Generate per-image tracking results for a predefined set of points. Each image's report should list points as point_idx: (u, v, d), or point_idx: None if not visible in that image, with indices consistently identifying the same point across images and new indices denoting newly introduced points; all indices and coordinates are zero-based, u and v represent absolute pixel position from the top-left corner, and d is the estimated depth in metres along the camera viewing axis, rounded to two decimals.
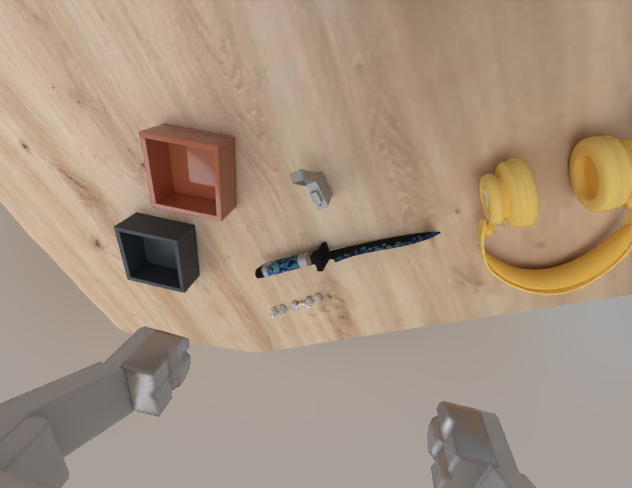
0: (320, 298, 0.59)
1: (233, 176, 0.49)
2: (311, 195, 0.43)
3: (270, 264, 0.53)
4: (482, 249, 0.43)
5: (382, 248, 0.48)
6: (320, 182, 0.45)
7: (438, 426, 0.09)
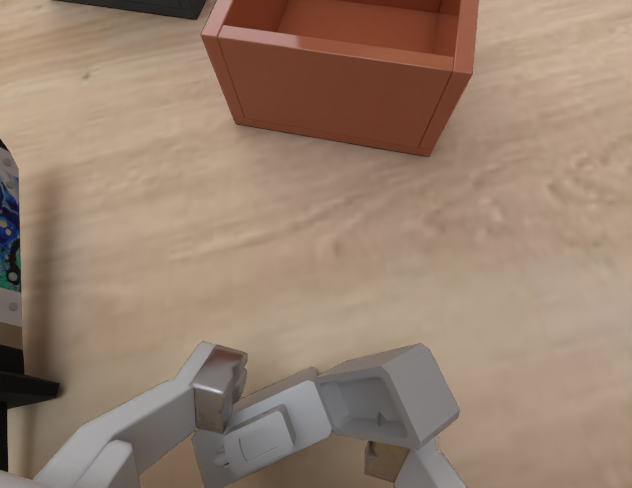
0: None
1: (329, 128, 0.17)
2: (275, 421, 0.09)
3: None
4: None
5: None
6: None
7: None
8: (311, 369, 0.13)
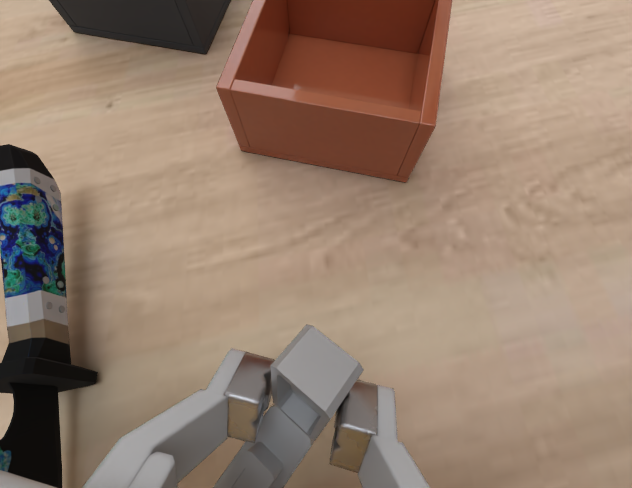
0: None
1: (321, 158, 0.20)
2: (249, 462, 0.09)
3: (45, 201, 0.17)
4: None
5: None
6: None
7: None
8: None
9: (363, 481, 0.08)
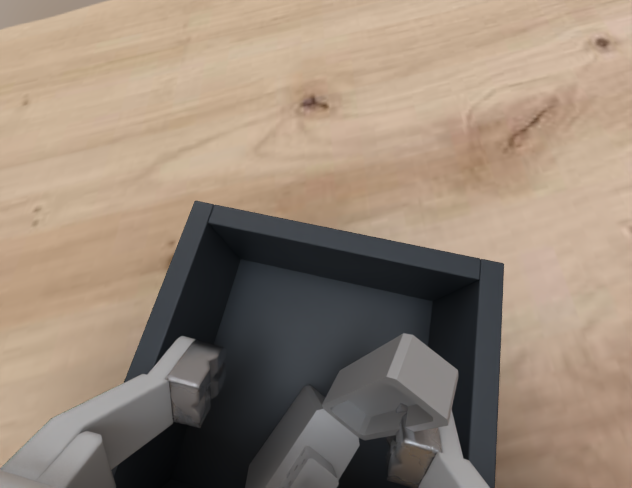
0: None
1: None
2: (311, 469, 0.09)
3: None
4: None
5: None
6: None
7: None
8: (307, 390, 0.13)
9: None
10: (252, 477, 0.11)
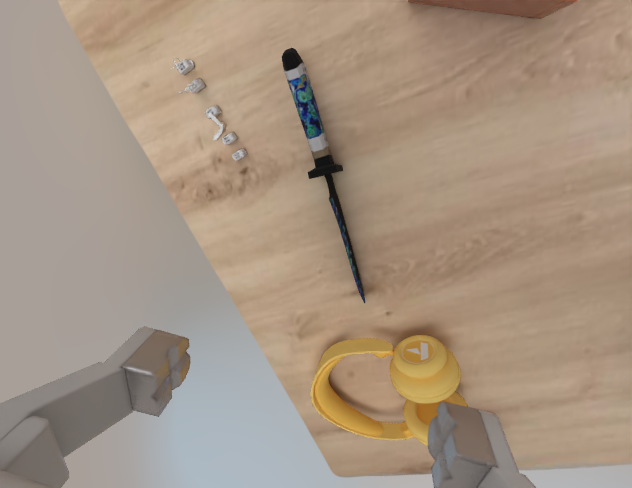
0: (240, 158, 0.37)
1: (476, 7, 0.27)
2: None
3: (307, 80, 0.29)
4: (360, 352, 0.41)
5: (347, 254, 0.37)
6: None
7: (438, 426, 0.09)
8: None
9: None
10: None
